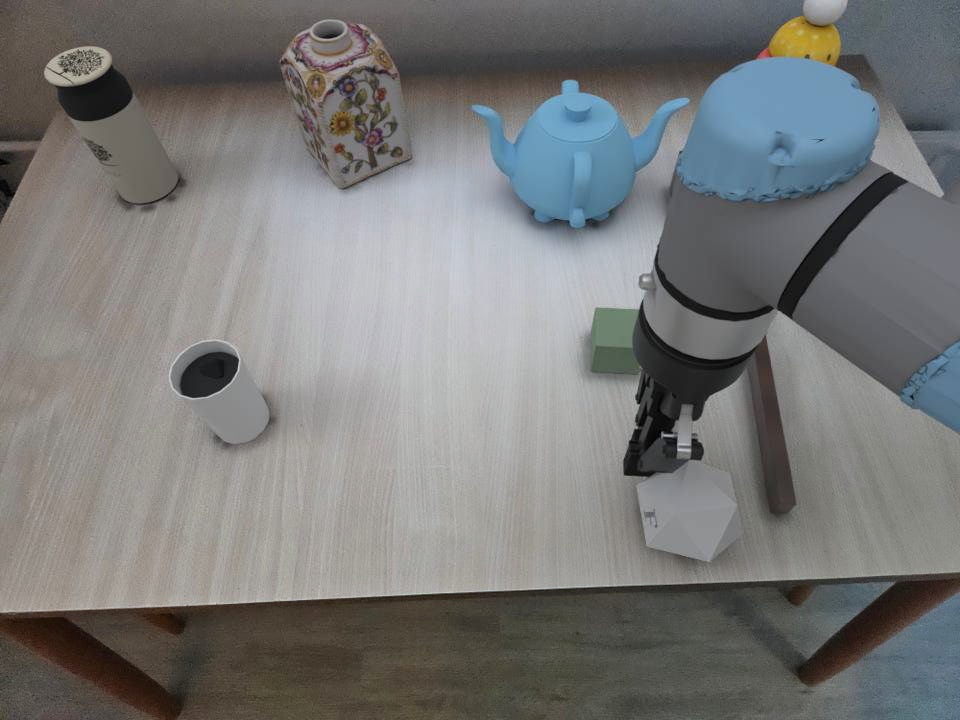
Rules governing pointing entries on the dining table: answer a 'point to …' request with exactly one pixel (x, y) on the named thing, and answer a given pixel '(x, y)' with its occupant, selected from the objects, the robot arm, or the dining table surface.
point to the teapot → (575, 154)
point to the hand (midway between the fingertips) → (638, 468)
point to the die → (690, 511)
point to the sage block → (613, 341)
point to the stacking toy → (810, 33)
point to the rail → (770, 432)
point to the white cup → (220, 390)
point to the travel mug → (112, 123)
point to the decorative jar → (347, 100)
